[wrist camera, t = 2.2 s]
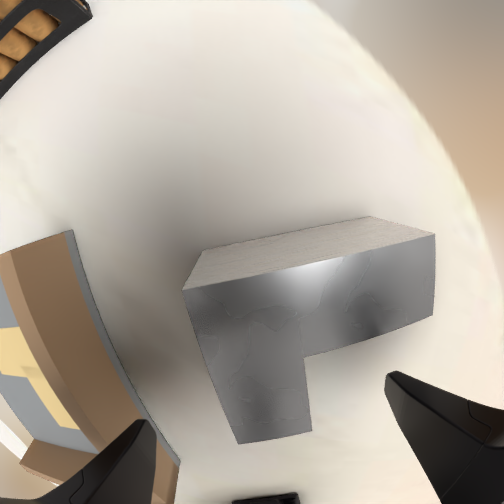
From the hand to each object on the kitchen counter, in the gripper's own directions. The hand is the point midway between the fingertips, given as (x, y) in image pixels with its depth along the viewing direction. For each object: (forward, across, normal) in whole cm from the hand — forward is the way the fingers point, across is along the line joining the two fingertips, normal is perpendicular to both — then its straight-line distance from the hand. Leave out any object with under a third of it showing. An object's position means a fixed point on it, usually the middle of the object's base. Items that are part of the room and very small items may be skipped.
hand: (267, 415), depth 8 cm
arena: (+5, +16, +1) cm, 17 cm away
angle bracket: (+5, -3, -2) cm, 6 cm away
